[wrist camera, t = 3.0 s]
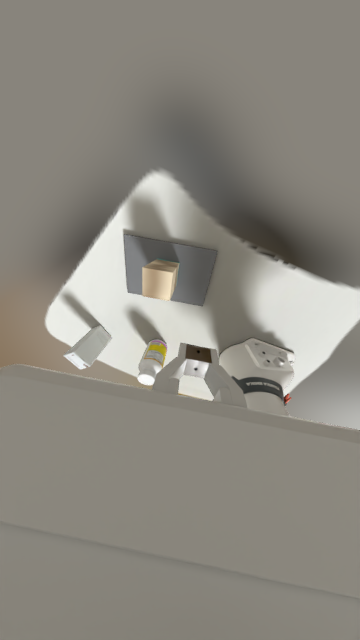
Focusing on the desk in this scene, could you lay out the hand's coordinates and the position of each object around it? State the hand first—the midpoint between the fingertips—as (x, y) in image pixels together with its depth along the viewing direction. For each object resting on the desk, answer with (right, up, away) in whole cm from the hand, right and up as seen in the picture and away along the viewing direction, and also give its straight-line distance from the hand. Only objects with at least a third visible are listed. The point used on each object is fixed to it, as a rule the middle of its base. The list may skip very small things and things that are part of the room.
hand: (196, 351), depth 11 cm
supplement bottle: (-9, -6, +35) cm, 36 cm away
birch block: (-4, +14, +20) cm, 25 cm away
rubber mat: (-4, +14, +21) cm, 26 cm away
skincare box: (-27, -2, +34) cm, 44 cm away
